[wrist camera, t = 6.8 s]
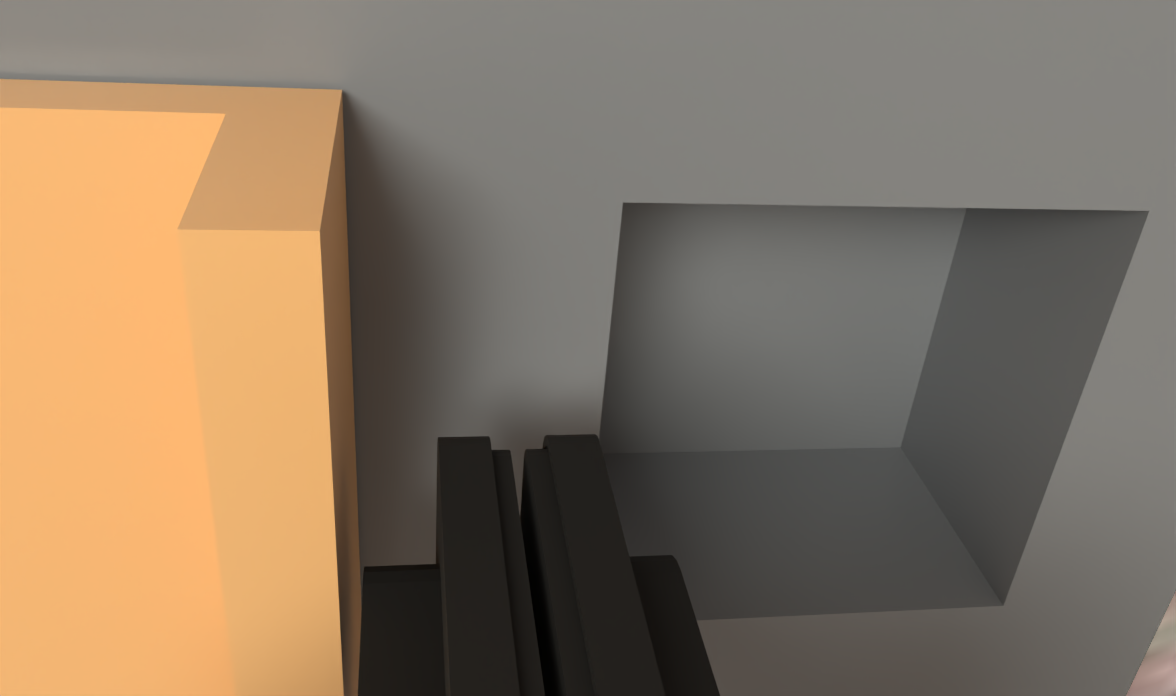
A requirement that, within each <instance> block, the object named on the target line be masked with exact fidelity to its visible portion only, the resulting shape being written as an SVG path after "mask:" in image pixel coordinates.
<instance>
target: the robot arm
mask: <svg viewBox="0 0 1176 696" xmlns="http://www.w3.org/2000/svg"><path fill="white" fill-rule="evenodd" d="M358 696H720V694H719V690H718V687H717V684H716V681H715V678H714V674H713V671H712V668H711V665H710V662H709V658H708V655H707V652H706V649H705V646H704V642H703V639H702V636H701V633H700V630H699V626H698V623H697V620H696V617H695V614H694V610H693V607H692V604H691V601H690V598H689V594H688V591H687V588H686V585H685V582H684V579H683V575H682V572H681V569H680V567H679V565H678V562H677V560H676V559H675V558H674V557H673V556H672V555H657V556H630V557H629V553H628V549H627V545H626V542H625V538H624V534H623V530H622V526H621V522H620V518H619V515H618V511H617V507H616V503H615V499H614V495H613V491H612V488H611V484H610V480H609V476H608V472H607V468H606V464H605V461H604V457H603V453H602V449H601V445H600V441H599V439H598V436H597V435H596V434H578V435H546V436H545V437H544V441H543V448H542V449H526V450H525V453H524V463H523V479H522V495H521V511H520V514H519V507H518V499H517V492H516V485H515V478H514V471H513V464H512V457H511V451H510V450H492V449H491V441H490V437H489V436H472V437H438V439H437V500H436V564H419V565H392V566H366V567H364V571H363V587H362V610H361V633H360V655H359V678H358Z"/></svg>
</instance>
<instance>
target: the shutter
mask: <svg viewBox="0 0 1176 696" xmlns="http://www.w3.org/2000/svg"><path fill="white" fill-rule="evenodd" d="M361 610H362V608H361V581H360V555H359V528H358V502H357V475H356V448H355V422H354V395H353V368H352V342H351V315H350V289H349V262H348V235H347V209H346V182H345V155H344V129H343V102H342V90H334V89H302V88H271V87H239V86H208V85H176V84H145V83H113V82H82V81H50V80H19V79H0V696H358V678H359V655H360V633H361Z"/></svg>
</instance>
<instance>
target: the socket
mask: <svg viewBox="0 0 1176 696" xmlns="http://www.w3.org/2000/svg"><path fill="white" fill-rule="evenodd" d="M0 79H19V80H50V81H82V82H113V83H145V84H176V85H208V86H239V87H271V88H302V89H334V90H342V102H343V129H344V155H345V182H346V209H347V235H348V262H349V289H350V315H351V342H352V368H353V395H354V422H355V448H356V475H357V502H358V528H359V555H360V581H361V608H362V587H363V571H364V567H366V566H392V565H419V564H436V500H437V439H438V437H472V436H489V437H490V441H491V449H492V450H510V451H511V457H512V464H513V471H514V478H515V485H516V492H517V499H518V507H519V514H520V511H521V495H522V479H523V463H524V453H525V450H526V449H542V448H543V441H544V437H545V436H546V435H578V434H596V435H597V436H598V439H599V441H600V445H601V449H602V453H603V457H604V461H605V464H606V468H607V472H608V476H609V480H610V484H611V488H612V491H613V495H614V499H615V503H616V507H617V511H618V515H619V518H620V522H621V526H622V530H623V534H624V538H625V542H626V545H627V549H628V553H629V557H630V556H657V555H672V556H673V557H674V558H675V559H676V560H677V562H678V565H679V567H680V569H681V572H682V575H683V579H684V582H685V585H686V588H687V591H688V594H689V598H690V601H691V604H692V607H693V610H694V614H695V617H696V620H697V623H698V626H699V630H700V633H701V636H702V639H703V642H704V646H705V649H706V652H707V655H708V658H709V662H710V665H711V668H712V671H713V674H714V678H715V681H716V684H717V687H718V690H719V694H720V696H1126V694H1127V692H1128V690H1129V688H1130V686H1131V684H1132V682H1133V680H1134V678H1135V676H1136V673H1137V671H1138V669H1139V667H1140V665H1141V663H1142V661H1143V659H1144V657H1145V654H1146V652H1147V650H1148V648H1149V646H1150V644H1151V642H1152V640H1153V638H1154V635H1155V633H1156V631H1157V629H1158V627H1159V625H1160V623H1161V621H1162V619H1163V617H1164V614H1165V612H1166V610H1167V608H1168V606H1169V604H1170V602H1171V600H1172V598H1173V595H1174V593H1175V591H1176V0H0Z"/></svg>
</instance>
